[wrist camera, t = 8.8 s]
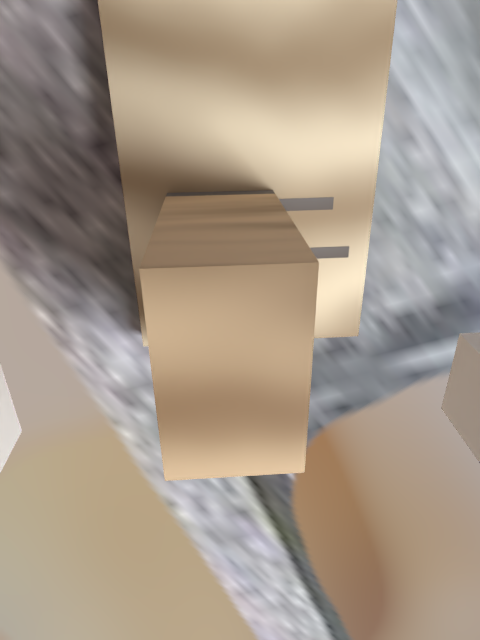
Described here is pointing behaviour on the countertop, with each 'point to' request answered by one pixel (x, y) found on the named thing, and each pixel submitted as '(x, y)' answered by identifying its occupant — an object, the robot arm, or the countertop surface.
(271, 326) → the block
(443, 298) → the countertop surface
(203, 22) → the board
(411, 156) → the countertop surface
